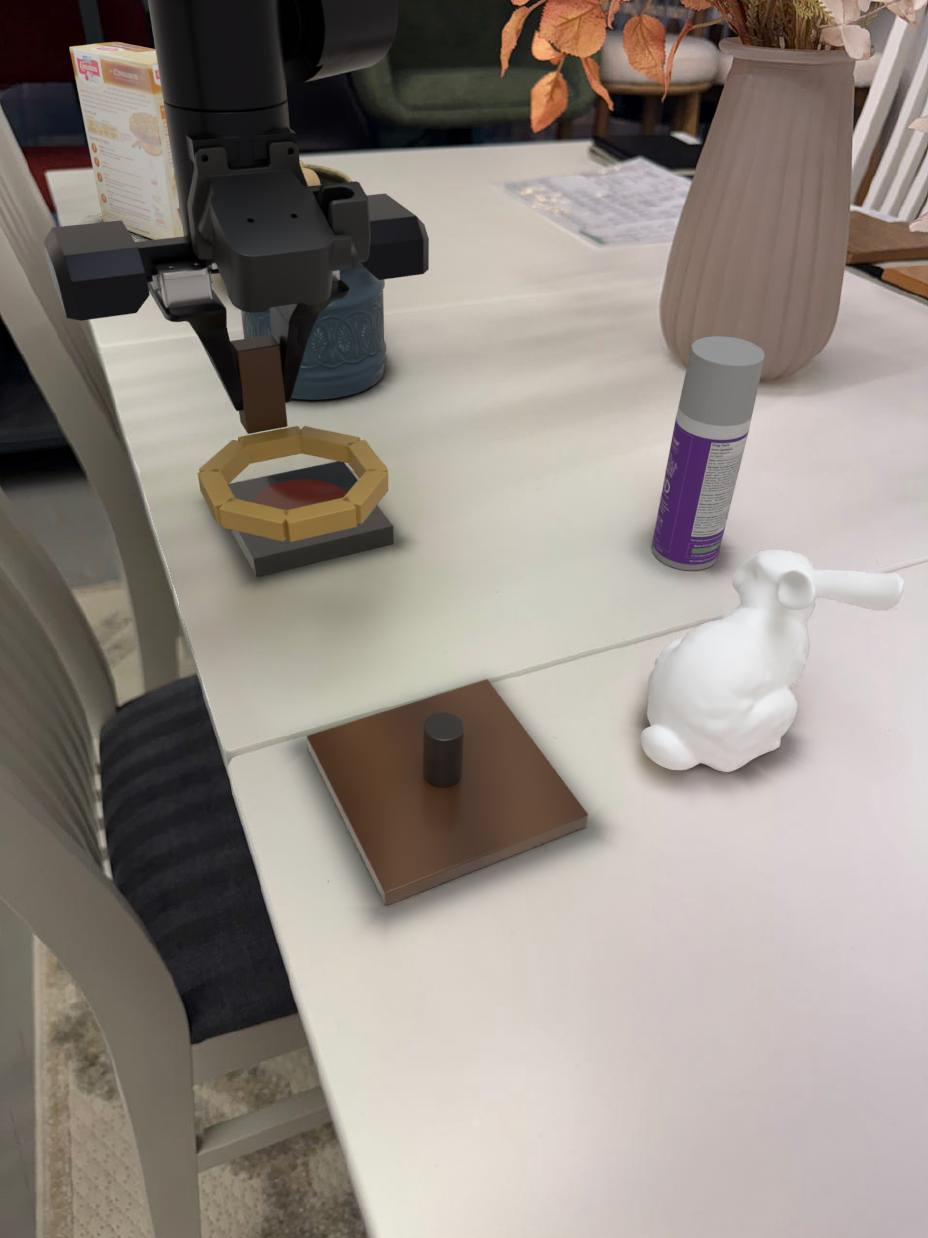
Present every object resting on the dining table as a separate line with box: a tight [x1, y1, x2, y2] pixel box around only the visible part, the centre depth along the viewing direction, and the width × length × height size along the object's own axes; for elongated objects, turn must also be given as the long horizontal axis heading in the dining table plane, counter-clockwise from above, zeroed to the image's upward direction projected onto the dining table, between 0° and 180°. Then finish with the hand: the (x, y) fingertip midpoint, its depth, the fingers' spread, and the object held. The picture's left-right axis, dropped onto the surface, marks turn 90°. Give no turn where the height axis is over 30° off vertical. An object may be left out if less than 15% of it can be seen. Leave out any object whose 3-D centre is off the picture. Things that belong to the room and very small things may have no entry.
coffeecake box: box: [69, 41, 184, 240], centre depth 113 cm, size 15×7×20 cm, turn 51°
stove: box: [228, 461, 395, 578], centre depth 68 cm, size 10×10×2 cm
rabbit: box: [640, 549, 905, 773], centre depth 49 cm, size 12×9×12 cm
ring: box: [197, 335, 389, 542], centre depth 51 cm, size 10×11×6 cm
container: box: [651, 335, 766, 571], centre depth 63 cm, size 5×5×15 cm
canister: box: [240, 168, 387, 401], centre depth 83 cm, size 13×13×18 cm
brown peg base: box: [306, 678, 589, 906], centre depth 48 cm, size 11×11×4 cm
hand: (261, 403), depth 54 cm, fingers closed on ring, 2 cm apart
